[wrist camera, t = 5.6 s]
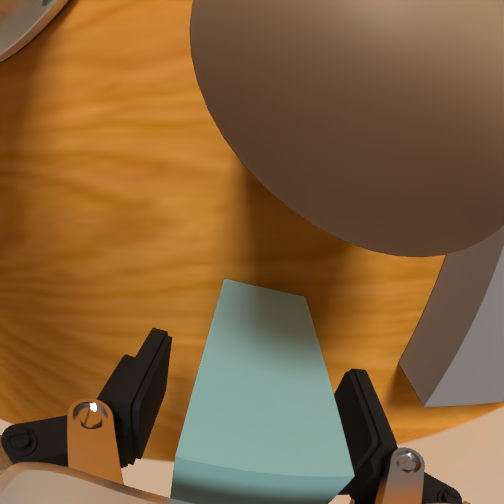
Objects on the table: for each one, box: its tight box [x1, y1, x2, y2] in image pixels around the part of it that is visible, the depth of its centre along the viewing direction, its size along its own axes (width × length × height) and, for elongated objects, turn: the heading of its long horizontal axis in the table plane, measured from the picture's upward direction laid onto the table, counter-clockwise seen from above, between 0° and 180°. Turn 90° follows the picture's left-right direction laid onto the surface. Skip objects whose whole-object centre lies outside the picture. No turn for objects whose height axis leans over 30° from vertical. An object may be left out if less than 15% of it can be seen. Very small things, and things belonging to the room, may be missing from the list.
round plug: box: [190, 0, 504, 257], centre depth 8 cm, size 6×6×10 cm
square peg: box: [170, 278, 355, 504], centre depth 11 cm, size 4×4×10 cm
